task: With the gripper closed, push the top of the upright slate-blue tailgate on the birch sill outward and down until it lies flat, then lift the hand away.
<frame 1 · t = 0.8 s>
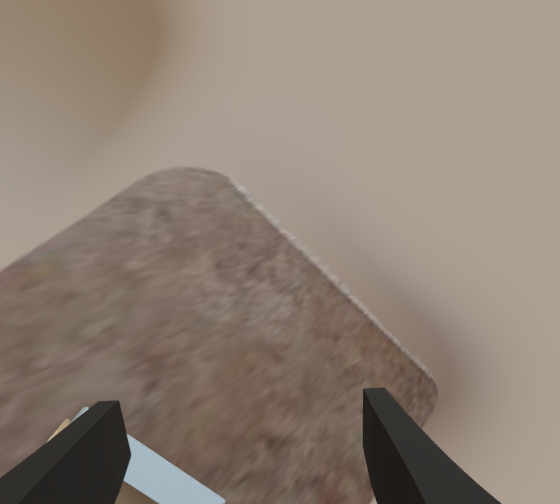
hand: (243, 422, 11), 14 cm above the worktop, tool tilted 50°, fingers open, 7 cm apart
tailgate: (134, 460, 16), point 5 cm above the worktop, hinge at 0.0°
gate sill: (108, 470, 20), on the worktop
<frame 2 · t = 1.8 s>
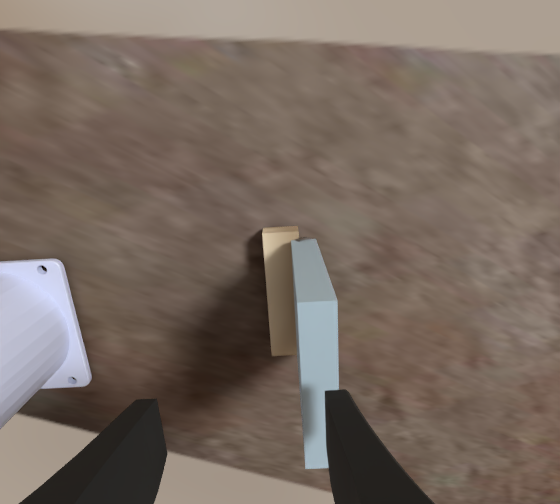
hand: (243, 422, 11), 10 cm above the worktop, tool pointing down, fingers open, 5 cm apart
tailgate: (311, 333, 15), point 5 cm above the worktop, hinge at 0.0°
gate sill: (284, 288, 20), on the worktop
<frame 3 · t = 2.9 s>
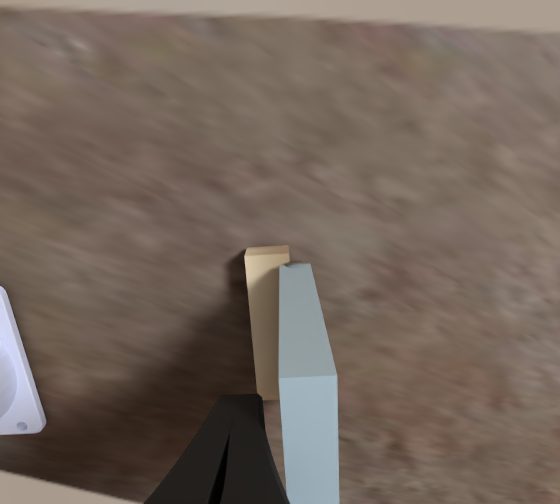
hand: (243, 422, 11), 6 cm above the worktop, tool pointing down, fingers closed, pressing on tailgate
tailgate: (303, 389, 12), point 5 cm above the worktop, hinge at 0.0°, touching gripper
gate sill: (273, 318, 17), on the worktop
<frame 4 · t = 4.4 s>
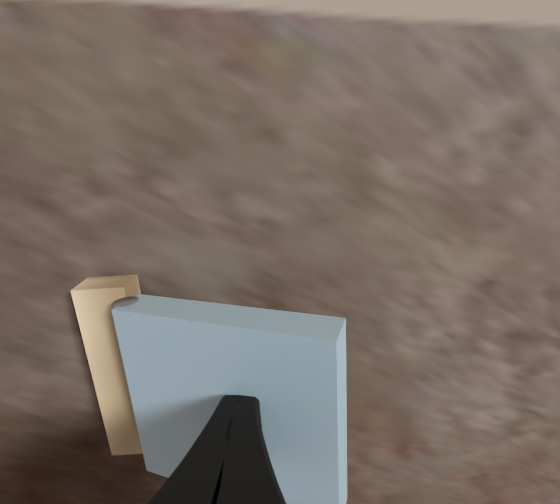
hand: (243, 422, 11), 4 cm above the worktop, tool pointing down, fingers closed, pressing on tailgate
tailgate: (226, 404, 11), point 3 cm above the worktop, hinge at 68.7°, touching gripper
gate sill: (130, 358, 14), on the worktop
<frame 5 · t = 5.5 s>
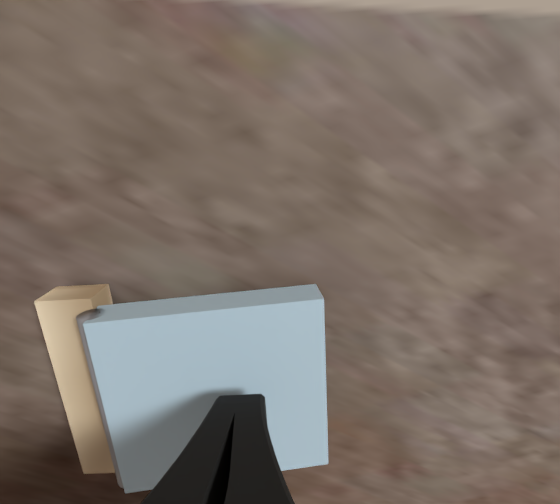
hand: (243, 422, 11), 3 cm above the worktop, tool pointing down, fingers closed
tailgate: (213, 390, 12), point 1 cm above the worktop, hinge at 96.9°
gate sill: (103, 372, 13), on the worktop
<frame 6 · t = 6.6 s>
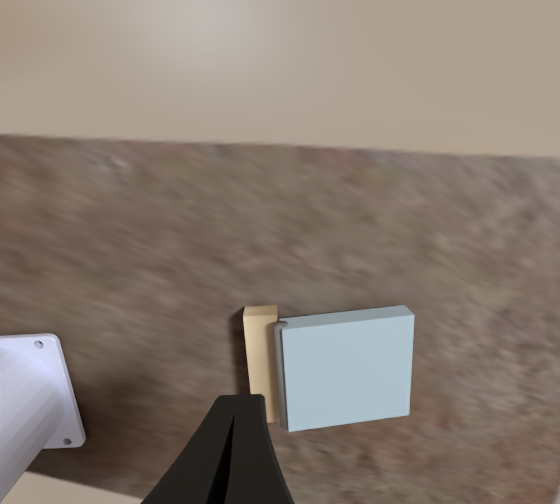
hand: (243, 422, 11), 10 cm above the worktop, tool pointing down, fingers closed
tailgate: (342, 369, 20), point 1 cm above the worktop, hinge at 97.0°
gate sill: (265, 359, 21), on the worktop
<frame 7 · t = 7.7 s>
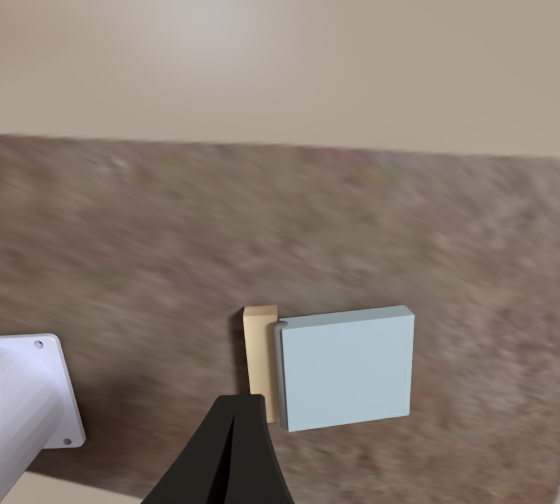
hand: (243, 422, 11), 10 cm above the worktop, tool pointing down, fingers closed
tailgate: (342, 369, 20), point 1 cm above the worktop, hinge at 97.0°
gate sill: (265, 359, 21), on the worktop
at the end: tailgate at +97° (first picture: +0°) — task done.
